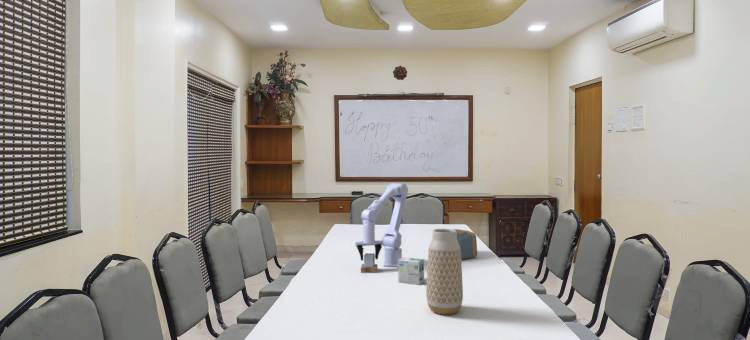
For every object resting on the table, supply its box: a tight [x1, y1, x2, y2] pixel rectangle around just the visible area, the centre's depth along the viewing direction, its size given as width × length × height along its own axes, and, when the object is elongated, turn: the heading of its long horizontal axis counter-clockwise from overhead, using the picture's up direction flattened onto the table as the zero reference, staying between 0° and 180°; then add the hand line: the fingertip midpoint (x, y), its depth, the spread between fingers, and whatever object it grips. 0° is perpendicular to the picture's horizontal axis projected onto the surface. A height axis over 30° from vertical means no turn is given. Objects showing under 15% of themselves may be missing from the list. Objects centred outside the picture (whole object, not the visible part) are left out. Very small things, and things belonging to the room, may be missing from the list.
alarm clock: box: [452, 228, 478, 261], centre depth 263 cm, size 16×16×16 cm
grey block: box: [363, 252, 376, 267], centre depth 233 cm, size 4×4×6 cm
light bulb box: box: [397, 256, 425, 286], centre depth 213 cm, size 11×7×11 cm, turn 65°
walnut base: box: [360, 263, 378, 274], centre depth 234 cm, size 8×8×3 cm
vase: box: [425, 228, 464, 316], centre depth 174 cm, size 14×14×31 cm
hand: (369, 259), depth 233 cm, fingers open, 7 cm apart
